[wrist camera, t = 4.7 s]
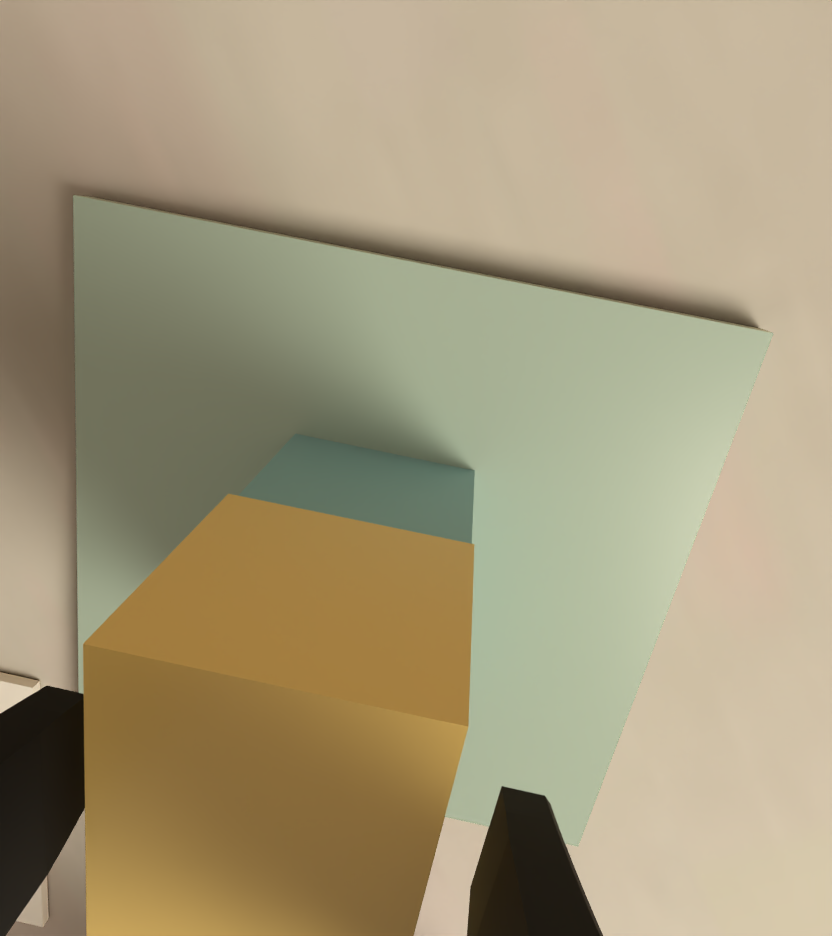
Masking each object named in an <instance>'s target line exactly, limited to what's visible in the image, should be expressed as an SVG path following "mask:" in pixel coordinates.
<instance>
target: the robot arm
mask: <svg viewBox="0 0 832 936" xmlns="http://www.w3.org/2000/svg"><path fill="white" fill-rule="evenodd" d="M84 808H85V769H84V694H82V693H78V692H73V691H69V690H64V689H60V688H55V687H51V686H45V687H44V688H42V689H40V690H38V691H37V692H35V693H33V694H32V695H30V696H28V697H27V698H25V699H23V700H22V701H20V702H18V703H17V704H15V705H13V706H12V707H10V708H8V709H7V710H5V711H3V712H2V713H0V936H6V934H7V933H8V931H9V930H10V928H11V927H12V926H13V924H14V923H15V921H16V920H17V918H18V917H19V915H20V914H21V913H22V911H23V910H24V908H25V907H26V905H27V904H28V903H29V901H30V900H31V898H32V897H33V895H34V894H35V892H36V891H37V889H38V888H39V887H40V885H41V884H42V882H43V881H44V879H45V878H46V876H47V874H48V873H49V871H50V869H51V867H52V866H53V864H54V862H55V860H56V859H57V857H58V855H59V854H60V852H61V850H62V848H63V847H64V845H65V843H66V841H67V839H68V838H69V836H70V834H71V832H72V830H73V828H74V827H75V825H76V823H77V821H78V819H79V817H80V816H81V814H82V812H83V810H84ZM467 936H603V934H602V932H601V930H600V928H599V925H598V923H597V921H596V918H595V916H594V914H593V911H592V909H591V907H590V904H589V902H588V900H587V897H586V895H585V892H584V890H583V887H582V885H581V883H580V880H579V878H578V875H577V873H576V870H575V868H574V865H573V863H572V860H571V858H570V855H569V853H568V850H567V847H566V845H565V842H564V840H563V837H562V834H561V832H560V829H559V826H558V823H557V821H556V818H555V815H554V812H553V809H552V807H551V804H550V802H549V801H548V799H547V798H546V796H545V795H540V794H535V793H531V792H526V791H522V790H517V789H513V788H508V787H504V786H501V790H500V793H499V796H498V800H497V803H496V806H495V809H494V813H493V816H492V819H491V822H490V826H489V829H488V832H487V835H486V839H485V842H484V845H483V849H482V852H481V855H480V858H479V862H478V865H477V868H476V871H475V875H474V878H473V881H472V885H471V889H470V903H469V917H468V930H467Z"/></svg>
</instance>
